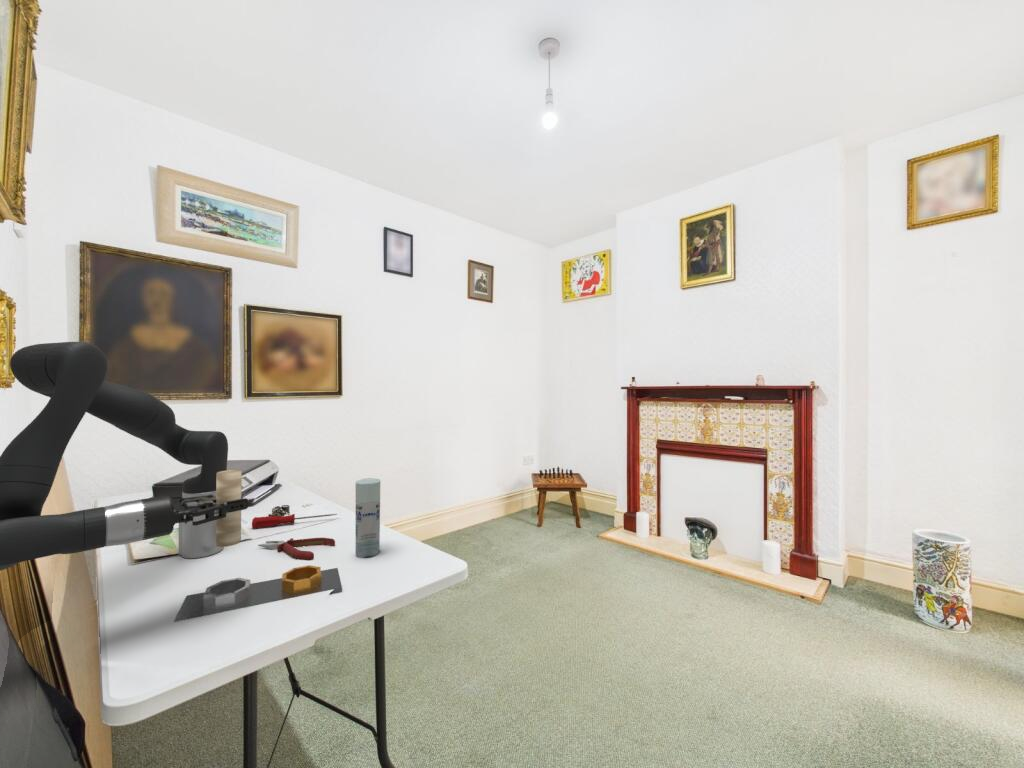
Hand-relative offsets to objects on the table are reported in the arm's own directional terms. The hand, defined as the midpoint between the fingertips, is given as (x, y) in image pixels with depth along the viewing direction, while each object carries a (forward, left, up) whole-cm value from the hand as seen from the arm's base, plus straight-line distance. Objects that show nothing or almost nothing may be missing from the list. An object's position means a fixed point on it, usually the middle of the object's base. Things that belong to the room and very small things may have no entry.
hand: (243, 501), depth 90 cm
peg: (-2, -2, -8) cm, 9 cm away
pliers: (-5, +27, -22) cm, 35 cm away
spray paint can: (+16, +26, -21) cm, 37 cm away
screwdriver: (-18, +46, -22) cm, 54 cm away
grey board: (+4, +2, -21) cm, 22 cm away
